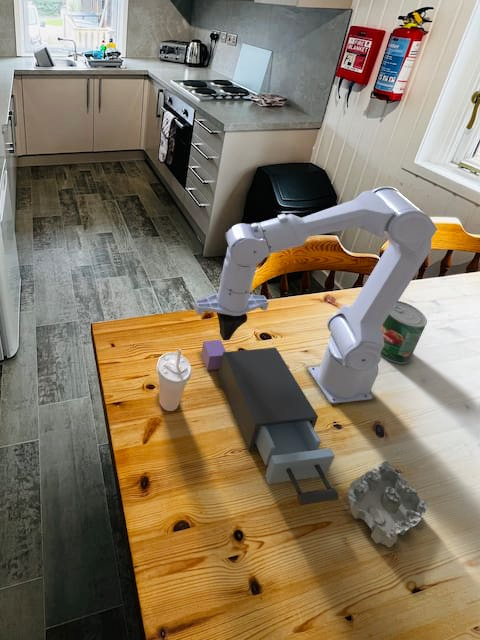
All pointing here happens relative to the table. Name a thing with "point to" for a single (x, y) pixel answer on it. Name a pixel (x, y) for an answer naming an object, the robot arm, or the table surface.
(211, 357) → the purple cube
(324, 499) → the grey drawer
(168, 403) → the smoothie
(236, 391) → the dark grey drawer box
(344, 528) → the table surface
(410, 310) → the canned tomato
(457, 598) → the table surface
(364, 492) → the egg carton
